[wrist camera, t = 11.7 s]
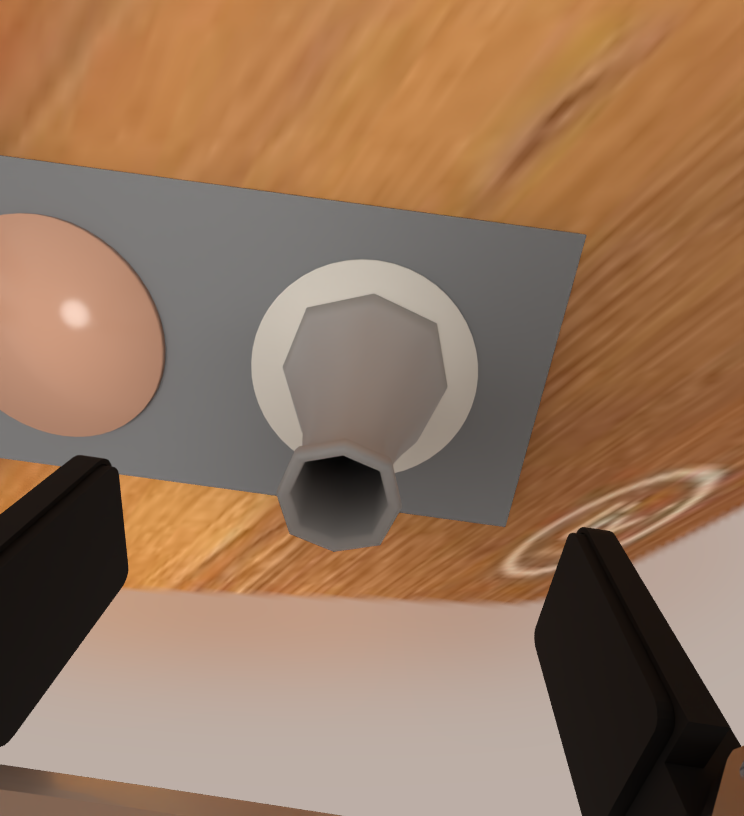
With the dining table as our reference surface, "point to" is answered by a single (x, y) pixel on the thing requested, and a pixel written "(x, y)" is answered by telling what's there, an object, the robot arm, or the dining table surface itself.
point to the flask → (356, 416)
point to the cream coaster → (351, 283)
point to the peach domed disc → (73, 330)
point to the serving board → (256, 291)
